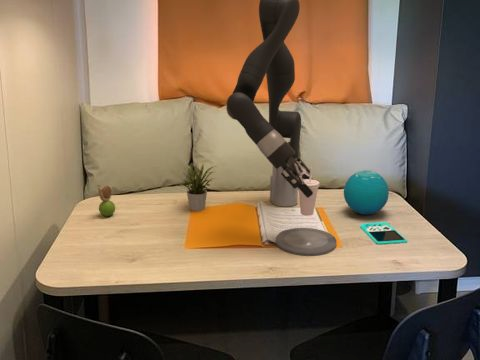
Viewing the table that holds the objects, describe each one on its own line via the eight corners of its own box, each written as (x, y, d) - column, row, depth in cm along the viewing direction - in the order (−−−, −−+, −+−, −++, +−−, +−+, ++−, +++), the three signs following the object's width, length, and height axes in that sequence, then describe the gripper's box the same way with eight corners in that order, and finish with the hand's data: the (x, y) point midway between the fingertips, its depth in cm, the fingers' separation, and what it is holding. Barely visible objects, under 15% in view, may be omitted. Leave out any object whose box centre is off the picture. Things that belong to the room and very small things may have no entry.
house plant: (228, 206, 196) (228, 162, 191) (205, 218, 185) (205, 171, 180) (196, 199, 203) (195, 156, 199) (172, 210, 192) (171, 165, 187)
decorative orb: (349, 203, 200) (351, 163, 195) (391, 209, 194) (394, 168, 189) (337, 216, 187) (339, 174, 183) (381, 224, 181) (385, 180, 176)
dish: (263, 241, 167) (263, 237, 167) (305, 226, 178) (305, 223, 178) (306, 261, 154) (306, 257, 153) (348, 244, 165) (349, 240, 164)
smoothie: (317, 218, 159) (319, 171, 155) (294, 216, 161) (296, 170, 157) (318, 210, 166) (321, 165, 161) (297, 209, 167) (299, 164, 163)
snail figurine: (94, 218, 185) (91, 184, 181) (105, 212, 191) (103, 178, 187) (107, 220, 183) (105, 185, 179) (118, 214, 189) (116, 180, 185)
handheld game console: (387, 225, 182) (387, 221, 181) (408, 244, 166) (409, 240, 166) (357, 226, 180) (358, 223, 180) (376, 246, 165) (377, 242, 165)
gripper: (277, 146, 153) (317, 191, 152) (291, 135, 166) (328, 177, 165) (258, 162, 156) (298, 207, 156) (273, 151, 169) (309, 192, 169)
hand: (313, 192), depth 161 cm, fingers closed on smoothie, 6 cm apart
